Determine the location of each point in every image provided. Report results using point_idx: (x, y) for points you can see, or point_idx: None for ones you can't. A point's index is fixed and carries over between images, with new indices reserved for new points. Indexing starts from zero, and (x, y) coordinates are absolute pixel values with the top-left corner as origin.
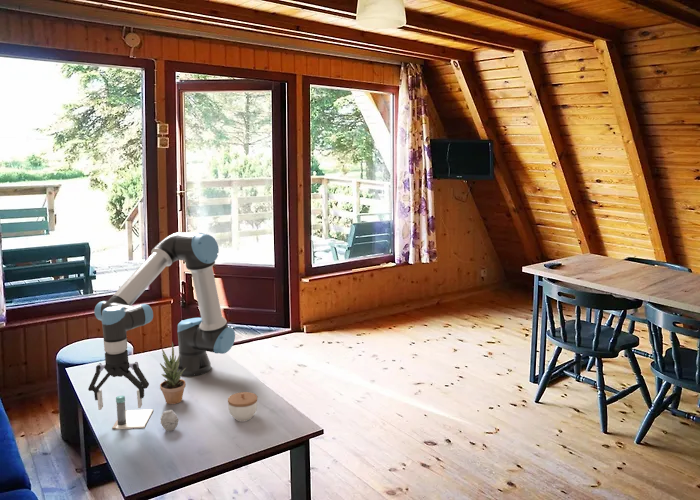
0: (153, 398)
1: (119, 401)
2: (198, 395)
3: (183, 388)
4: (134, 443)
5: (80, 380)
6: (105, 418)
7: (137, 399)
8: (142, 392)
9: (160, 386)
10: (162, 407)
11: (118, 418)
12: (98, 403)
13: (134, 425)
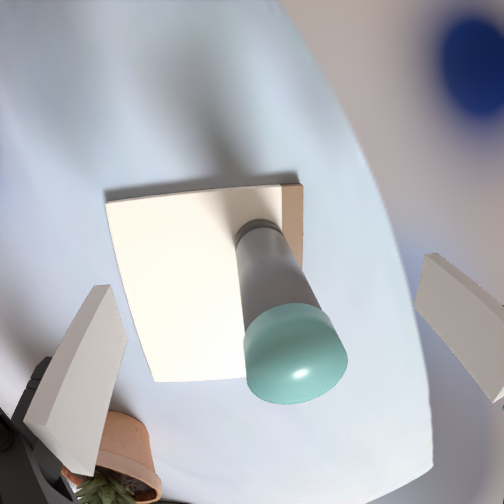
0: (207, 443)
1: (292, 315)
2: None
3: None
4: (105, 19)
5: (425, 454)
6: (363, 307)
7: (80, 339)
8: (20, 405)
9: (145, 482)
10: (131, 395)
11: (280, 238)
12: (468, 279)
13: (168, 215)
